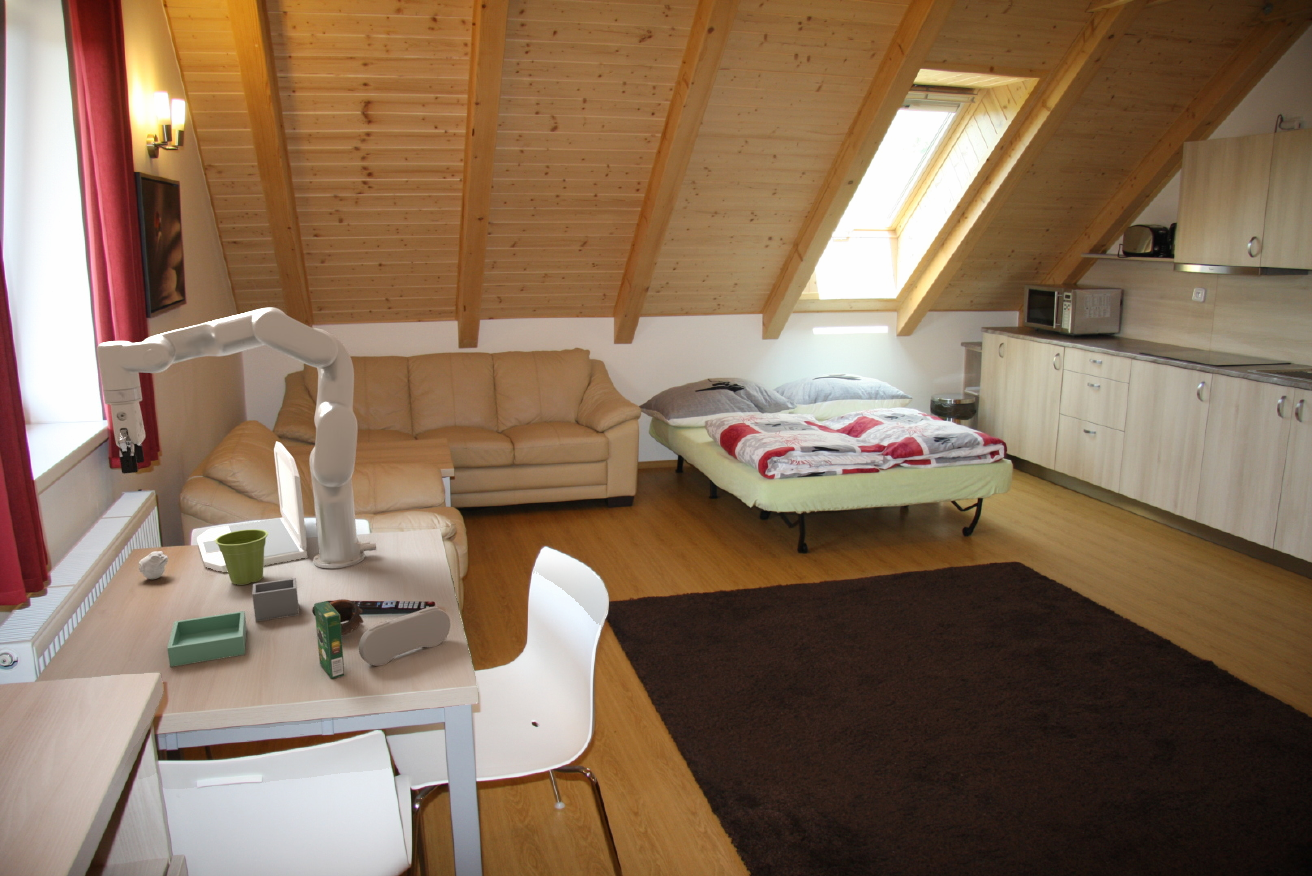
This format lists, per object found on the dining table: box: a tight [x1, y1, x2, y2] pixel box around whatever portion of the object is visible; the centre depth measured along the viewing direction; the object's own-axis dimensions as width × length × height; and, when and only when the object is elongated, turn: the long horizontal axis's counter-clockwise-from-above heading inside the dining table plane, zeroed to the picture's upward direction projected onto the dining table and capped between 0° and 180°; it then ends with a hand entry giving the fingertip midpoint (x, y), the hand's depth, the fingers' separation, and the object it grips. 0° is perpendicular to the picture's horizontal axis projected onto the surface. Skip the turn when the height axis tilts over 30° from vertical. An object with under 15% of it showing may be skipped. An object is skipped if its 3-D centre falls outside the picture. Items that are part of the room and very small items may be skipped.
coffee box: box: [313, 600, 346, 680], centre depth 178 cm, size 8×3×13 cm, turn 36°
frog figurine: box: [138, 550, 169, 580], centre depth 226 cm, size 6×7×7 cm
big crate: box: [166, 610, 248, 668], centre depth 190 cm, size 14×14×4 cm
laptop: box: [196, 441, 308, 573], centre depth 245 cm, size 33×24×26 cm
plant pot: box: [215, 529, 268, 586], centre depth 224 cm, size 12×12×11 cm
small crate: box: [251, 577, 300, 622], centre depth 206 cm, size 9×6×6 cm
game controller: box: [358, 606, 451, 667], centre depth 185 cm, size 20×2×8 cm, turn 133°
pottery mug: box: [311, 598, 365, 637], centre depth 196 cm, size 12×9×8 cm
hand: (133, 467), depth 214 cm, fingers open, 9 cm apart
